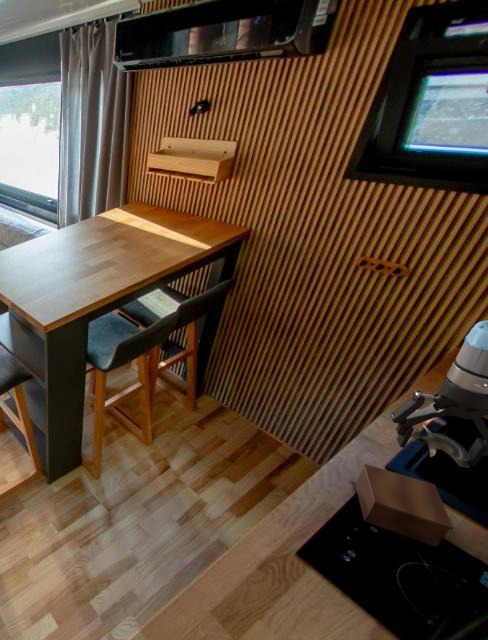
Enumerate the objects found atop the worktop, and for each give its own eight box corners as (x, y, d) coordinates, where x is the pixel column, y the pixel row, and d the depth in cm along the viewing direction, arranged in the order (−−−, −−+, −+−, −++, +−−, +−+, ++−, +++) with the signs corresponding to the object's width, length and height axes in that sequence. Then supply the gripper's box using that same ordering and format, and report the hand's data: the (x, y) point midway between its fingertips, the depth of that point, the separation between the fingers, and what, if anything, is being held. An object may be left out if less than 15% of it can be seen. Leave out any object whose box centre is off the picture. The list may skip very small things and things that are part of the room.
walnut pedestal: (421, 504, 88) (434, 484, 85) (438, 548, 80) (453, 528, 77) (353, 483, 95) (363, 463, 91) (363, 521, 87) (374, 501, 84)
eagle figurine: (404, 449, 90) (466, 470, 82) (411, 422, 90) (474, 440, 82) (411, 448, 93) (472, 469, 85) (418, 422, 93) (479, 440, 85)
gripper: (400, 380, 83) (369, 445, 93) (578, 413, 70) (521, 485, 79) (391, 361, 89) (363, 424, 98) (555, 389, 75) (505, 459, 84)
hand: (434, 452), depth 89 cm, fingers closed on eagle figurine, 10 cm apart
